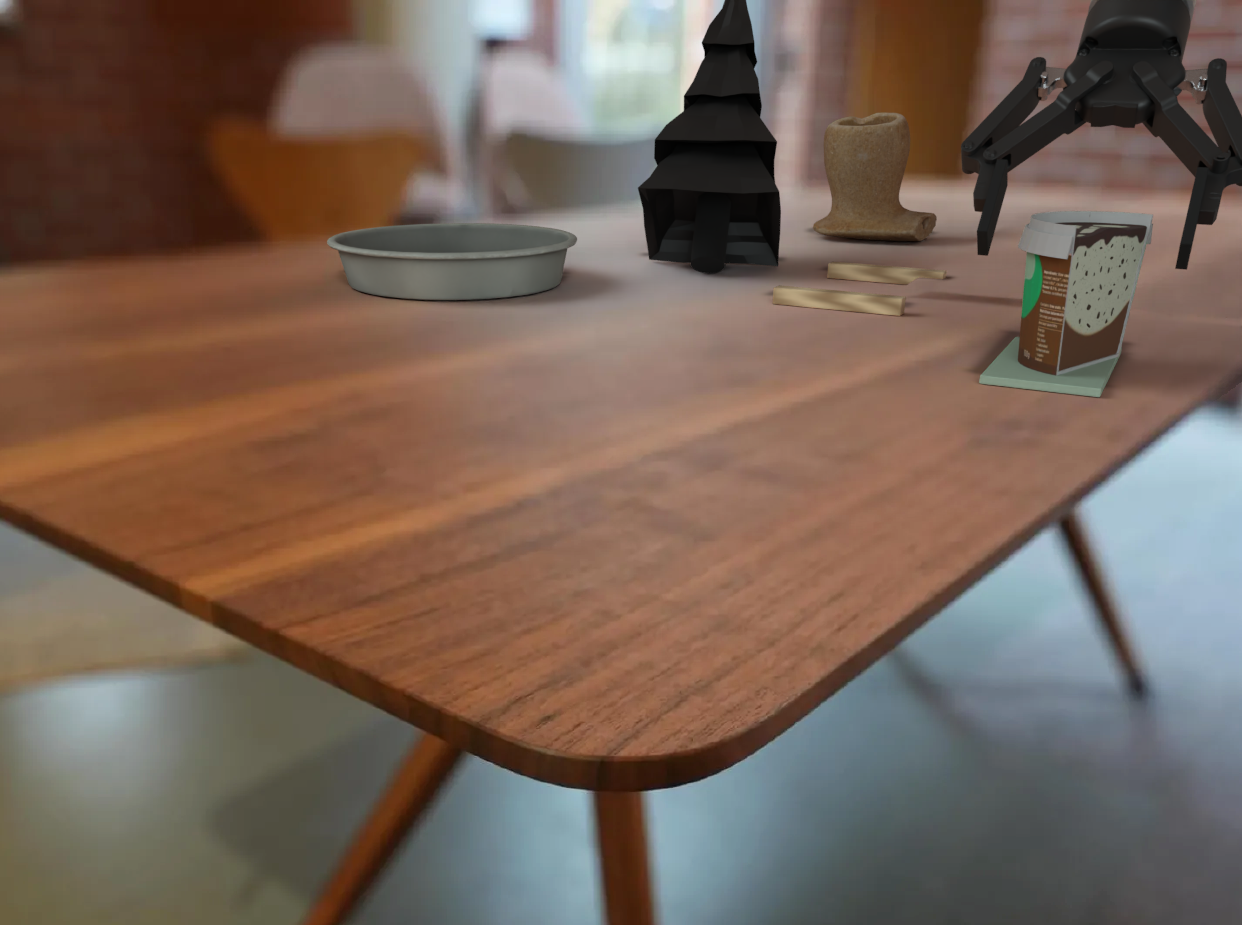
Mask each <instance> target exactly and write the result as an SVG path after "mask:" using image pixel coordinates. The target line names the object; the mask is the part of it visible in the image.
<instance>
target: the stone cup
mask: <svg viewBox="0 0 1242 925" xmlns="http://www.w3.org/2000/svg"><path fill="white" fill-rule="evenodd" d="M910 150H911V131H910V126H909V122H908V120H907V118H906V117H905V116H904V115H903V114H901V113H898V112H875V113H873V114H870V115H868V116H864V117H862V118H861V117H857V116H845V117H842V118H839V119H836V120H834V121H832V122H830V124H828V126H827V127H826V129H825V131H824V135H823V164H824V169H825V175H826V178H827V183H828V186H829V191H830V194H831V207H830V211H829V213H827V215H826V216H824V217H822V218H820V219H819V220H817V221H816V222H814V223H813V225H812V229H813V231H814V232H816V233H818V234H819V235H823V236H827V237H828V236H829V237H837V238H847V239H856V240H867V241H883V242H884V241H888V242H889V241H892V242H921V241H923V240H925V239H926V238H928V237H929V236H930V234H932V233H933V231H934V229H935V227H936V224H937V219H938V218H937V217H938V216H937V215H936V214H935V213H934V212H926V211H915V210H910V209H908V208H905V207H903V205H902V204H901V202H900V190H901V186H902V183H903V180H904V179H903V178H904V175H905V172H906V169H907V165H908V160H909V155H910Z"/></svg>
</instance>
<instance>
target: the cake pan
mask: <svg viewBox="0 0 1242 925" xmlns="http://www.w3.org/2000/svg"><path fill="white" fill-rule="evenodd" d="M577 241H578V237H577V236H576V235H575V234H574V233H572V232H570V231H567V230H564V229H563V230H562V229H558V228H555V227H554V228H552V227H545V226H538V225H527V224H512V223H489V222H487V223H485V222H483V223H482V222H450V223H449V222H448V223H445V222H444V223H421V224H420V223H419V224H418V223H417V224H416V223H415V224H403V225H402V224H401V225H400V224H399V225H388V226H377V227H369V228H361V229H355V230H349V231H345V232H340V233H336V234H334V235H333V236H330V237H329V238H328V239H327V241H326V243H327V244H326V245H328V247H329V248H331V249H333V250H336V251H337V252H338V256H339V258H340V261H341V264H342V267H343V272H344V273H345V276H346V280H347V283H348V285H349V287H350V288H352V289H353V290H356V291H358V292H361V293H365V294H368V295H373V296H378V297H386V298H395V299H404V300H424V301H472V300H473V301H475V300H491V299H503V298H505V299H506V298H511V297H512V298H514V297H521V296H527V295H534V294H538V293H542V292H545V291H549V290H552V289H554V288H556V287H558V286H559V285H560V284H561V283H562V279H563V274H564V267H565V262H566V259H567V258H566V257H567V252H568V249H569V248H572V247H574V246H575V245H576V244H577Z"/></svg>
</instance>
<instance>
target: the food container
mask: <svg viewBox="0 0 1242 925" xmlns="http://www.w3.org/2000/svg"><path fill="white" fill-rule="evenodd" d="M1153 218H1154V214H1152V213H1141V212H1125V211H1108V210H1107V211H1104V210H1103V211H1102V210H1060V211H1059V210H1058V211H1057V210H1056V211H1045V212H1037V213H1034V214H1032V215H1031V216H1030V219H1029V223H1027V224H1025V225H1024V227H1023V231H1022V234H1021V236H1020V239H1019V241H1018V244H1017V248H1018V249H1019V250H1021V251H1023V252H1026V256H1025V267H1024V268H1025V269H1024V280H1023V290H1022V293H1023V294H1022V303H1021V304H1022V305H1021V315H1020V318H1021V319H1020V328H1019V337H1020V338H1019V350H1018V362H1019V363H1020V364H1021V365H1023V366H1025V367H1027V368H1029V369H1032V370H1035V371H1038V372H1042V373H1046V374H1051V375H1055V376H1057V375H1060V374H1063V373H1067V372H1070V371H1073V370H1077V369H1080V368H1083V367H1086V366H1090V365H1093V364H1096V363H1100V362H1103V361H1106V360H1109V359H1113V358H1116V357H1119V354H1120V350H1121V347H1122V345H1123V341H1124V337H1125V333H1126V329H1127V326H1128V320H1129V317H1130V313H1131V309H1132V304H1133V300H1134V296H1135V292H1136V289H1137V285H1138V280H1139V276H1140V272H1141V268H1142V265H1143V260H1144V256H1145V252H1146V248H1147V245H1151V244H1152V236H1153V226H1154V223H1153ZM1121 351H1122V350H1121ZM1120 355H1121V354H1120ZM1119 358H1120V357H1119Z"/></svg>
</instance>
